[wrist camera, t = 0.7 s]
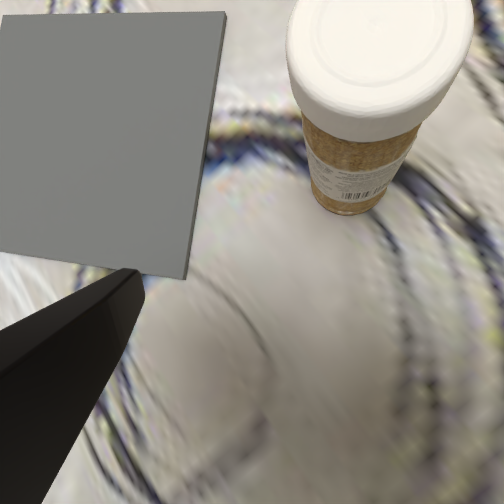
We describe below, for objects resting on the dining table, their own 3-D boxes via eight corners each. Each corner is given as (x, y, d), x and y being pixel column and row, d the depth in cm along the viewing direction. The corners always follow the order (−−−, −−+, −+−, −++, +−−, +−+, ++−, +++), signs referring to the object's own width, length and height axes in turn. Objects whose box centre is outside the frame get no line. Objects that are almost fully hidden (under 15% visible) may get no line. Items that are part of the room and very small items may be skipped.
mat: (185, 279, 23) (182, 279, 23) (-37, 245, 27) (-43, 244, 27) (226, 16, 25) (224, 11, 24) (8, 19, 28) (2, 15, 28)
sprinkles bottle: (386, 141, 22) (475, -83, 9) (388, 216, 21) (487, 102, 8) (308, 147, 23) (282, -47, 9) (309, 219, 22) (283, 121, 9)
